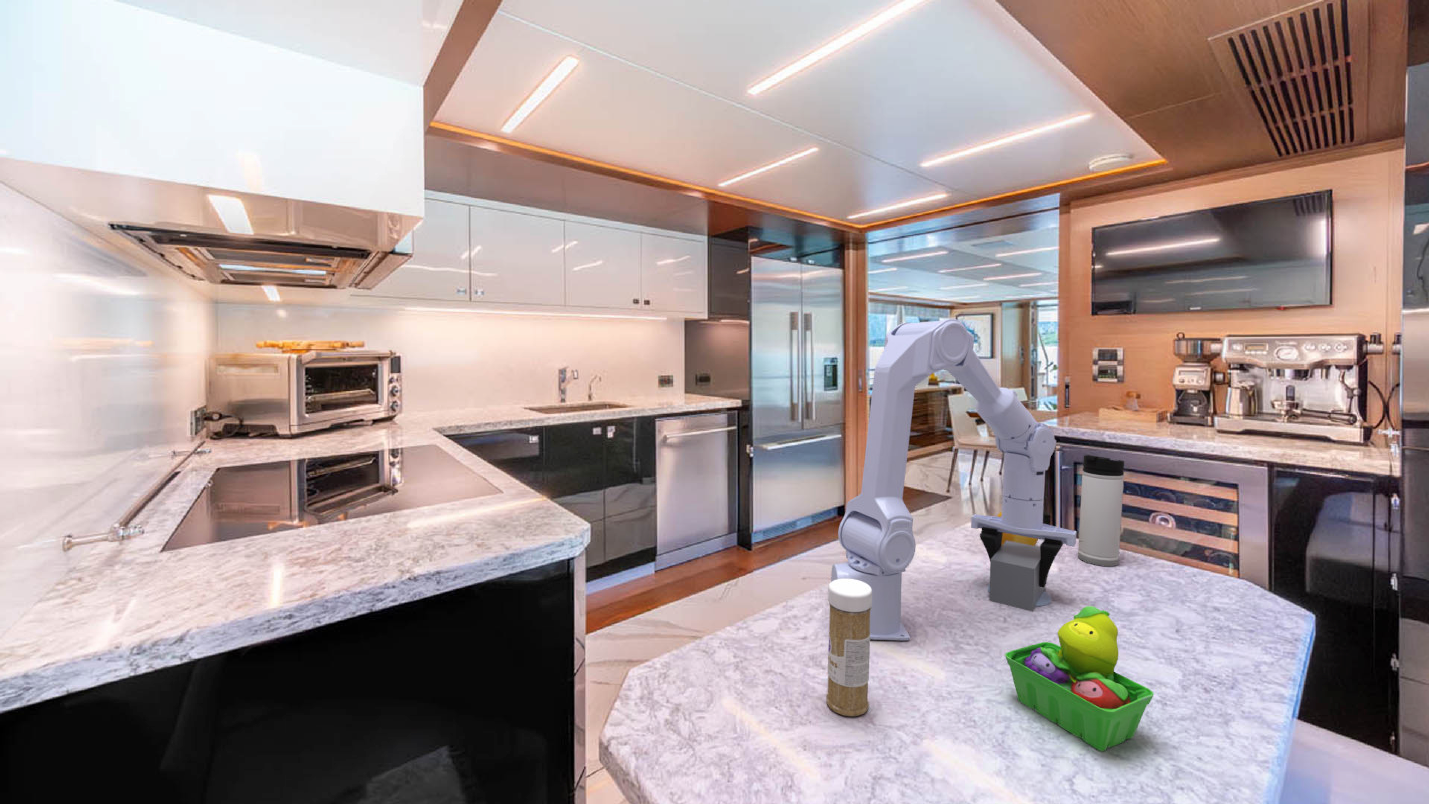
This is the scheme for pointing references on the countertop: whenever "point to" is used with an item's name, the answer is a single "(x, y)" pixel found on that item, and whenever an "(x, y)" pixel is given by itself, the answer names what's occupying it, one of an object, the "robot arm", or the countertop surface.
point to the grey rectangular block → (1016, 575)
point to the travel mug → (1101, 510)
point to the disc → (1042, 601)
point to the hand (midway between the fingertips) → (1019, 579)
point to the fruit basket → (1081, 681)
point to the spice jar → (849, 646)
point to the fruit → (1017, 537)
